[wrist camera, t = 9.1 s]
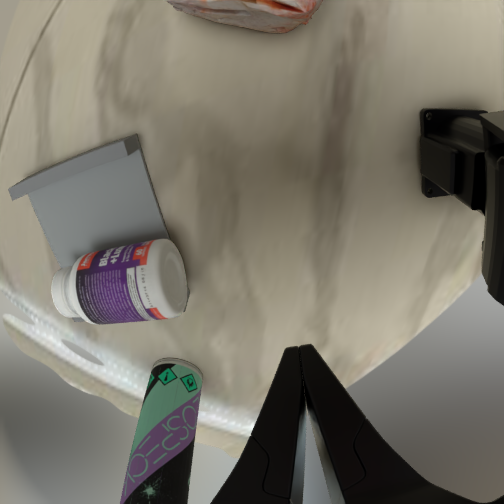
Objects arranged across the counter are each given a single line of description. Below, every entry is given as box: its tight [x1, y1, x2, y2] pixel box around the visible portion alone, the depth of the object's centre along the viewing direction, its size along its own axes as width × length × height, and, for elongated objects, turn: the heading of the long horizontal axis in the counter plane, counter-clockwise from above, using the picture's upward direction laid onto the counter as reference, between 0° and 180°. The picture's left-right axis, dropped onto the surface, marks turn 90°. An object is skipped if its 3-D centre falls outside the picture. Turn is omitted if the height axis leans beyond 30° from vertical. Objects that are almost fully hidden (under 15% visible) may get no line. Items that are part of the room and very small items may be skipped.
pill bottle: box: [51, 239, 187, 324], centre depth 21 cm, size 5×5×10 cm
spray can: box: [120, 358, 203, 504], centre depth 22 cm, size 6×6×20 cm
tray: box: [8, 134, 190, 322], centre depth 21 cm, size 11×13×2 cm
